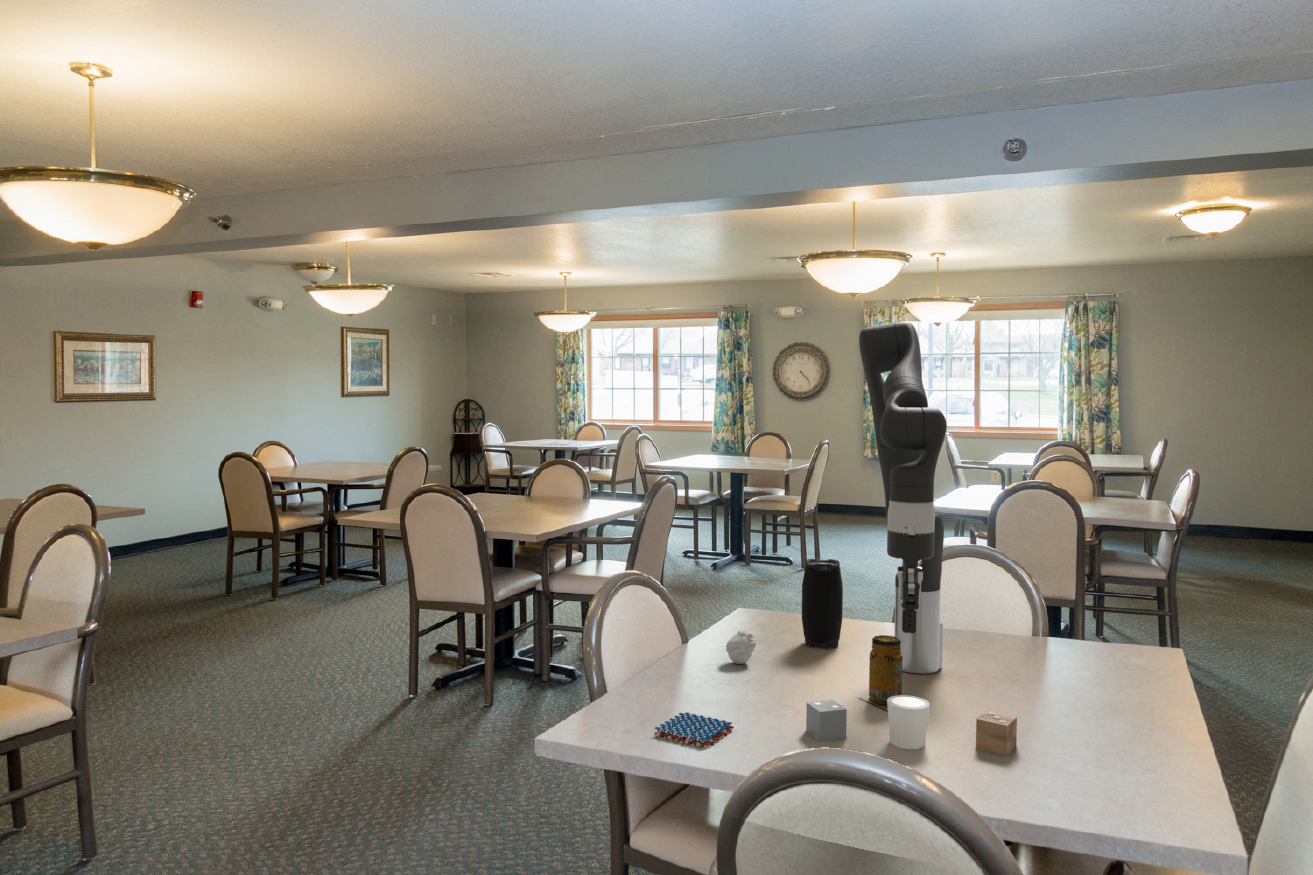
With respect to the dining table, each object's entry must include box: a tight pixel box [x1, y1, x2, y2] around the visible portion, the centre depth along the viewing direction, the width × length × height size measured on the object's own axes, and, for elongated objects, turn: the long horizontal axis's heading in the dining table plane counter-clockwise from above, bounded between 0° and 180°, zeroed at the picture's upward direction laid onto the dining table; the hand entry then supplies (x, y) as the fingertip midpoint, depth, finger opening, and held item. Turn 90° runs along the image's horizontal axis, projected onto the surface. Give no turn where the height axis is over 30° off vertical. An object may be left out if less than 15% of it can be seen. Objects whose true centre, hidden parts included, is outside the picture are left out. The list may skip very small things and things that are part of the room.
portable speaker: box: [801, 558, 844, 649], centre depth 209 cm, size 9×9×20 cm
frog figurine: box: [725, 629, 757, 665], centre depth 194 cm, size 6×7×7 cm
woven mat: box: [654, 711, 734, 749], centre depth 154 cm, size 10×11×2 cm
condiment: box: [858, 634, 903, 711], centre depth 170 cm, size 7×8×12 cm
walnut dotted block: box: [975, 710, 1018, 757], centre depth 148 cm, size 5×5×5 cm
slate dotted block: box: [805, 699, 848, 742], centre depth 154 cm, size 5×5×5 cm
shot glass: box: [887, 694, 931, 750], centre depth 150 cm, size 7×7×7 cm
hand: (908, 631), depth 149 cm, fingers closed
